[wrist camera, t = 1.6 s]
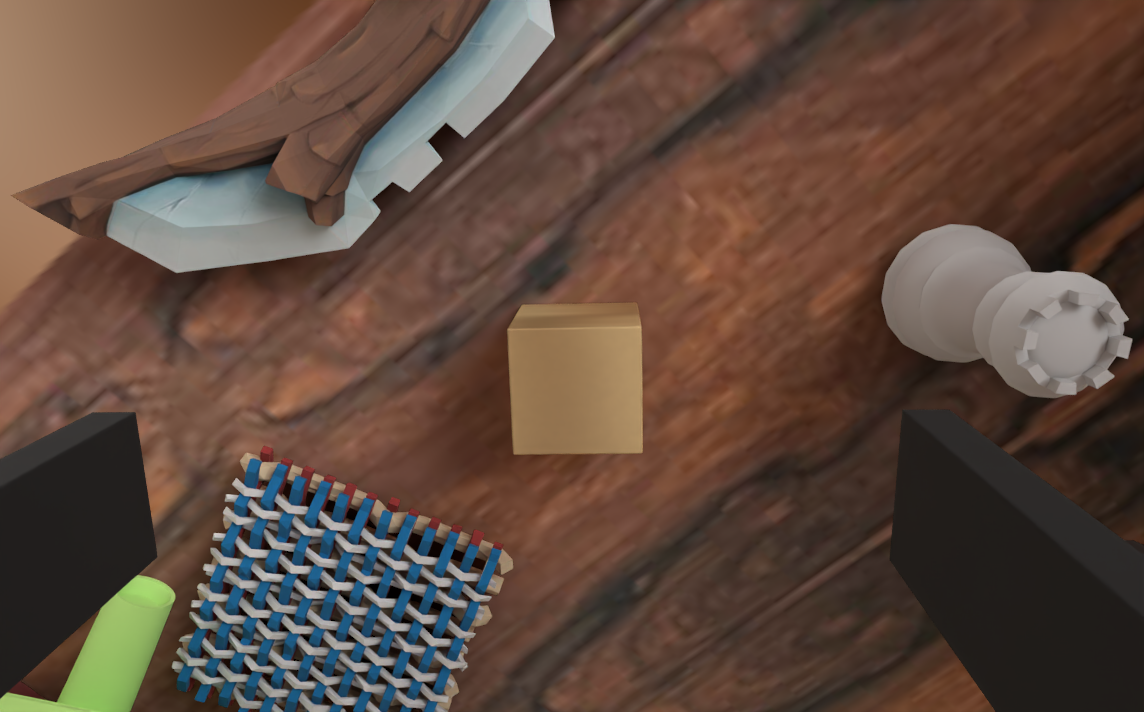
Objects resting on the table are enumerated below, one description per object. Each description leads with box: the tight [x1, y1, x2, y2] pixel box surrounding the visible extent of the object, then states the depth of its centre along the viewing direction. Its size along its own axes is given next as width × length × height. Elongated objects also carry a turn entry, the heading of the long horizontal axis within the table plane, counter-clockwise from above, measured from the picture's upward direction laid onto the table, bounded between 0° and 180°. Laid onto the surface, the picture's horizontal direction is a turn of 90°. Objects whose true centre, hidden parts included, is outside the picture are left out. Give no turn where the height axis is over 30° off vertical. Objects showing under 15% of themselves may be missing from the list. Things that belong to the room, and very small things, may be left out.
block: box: [507, 302, 643, 455], centre depth 26 cm, size 4×4×4 cm
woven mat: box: [172, 446, 513, 712], centre depth 30 cm, size 10×11×2 cm
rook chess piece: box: [881, 224, 1132, 398], centre depth 23 cm, size 4×4×8 cm
